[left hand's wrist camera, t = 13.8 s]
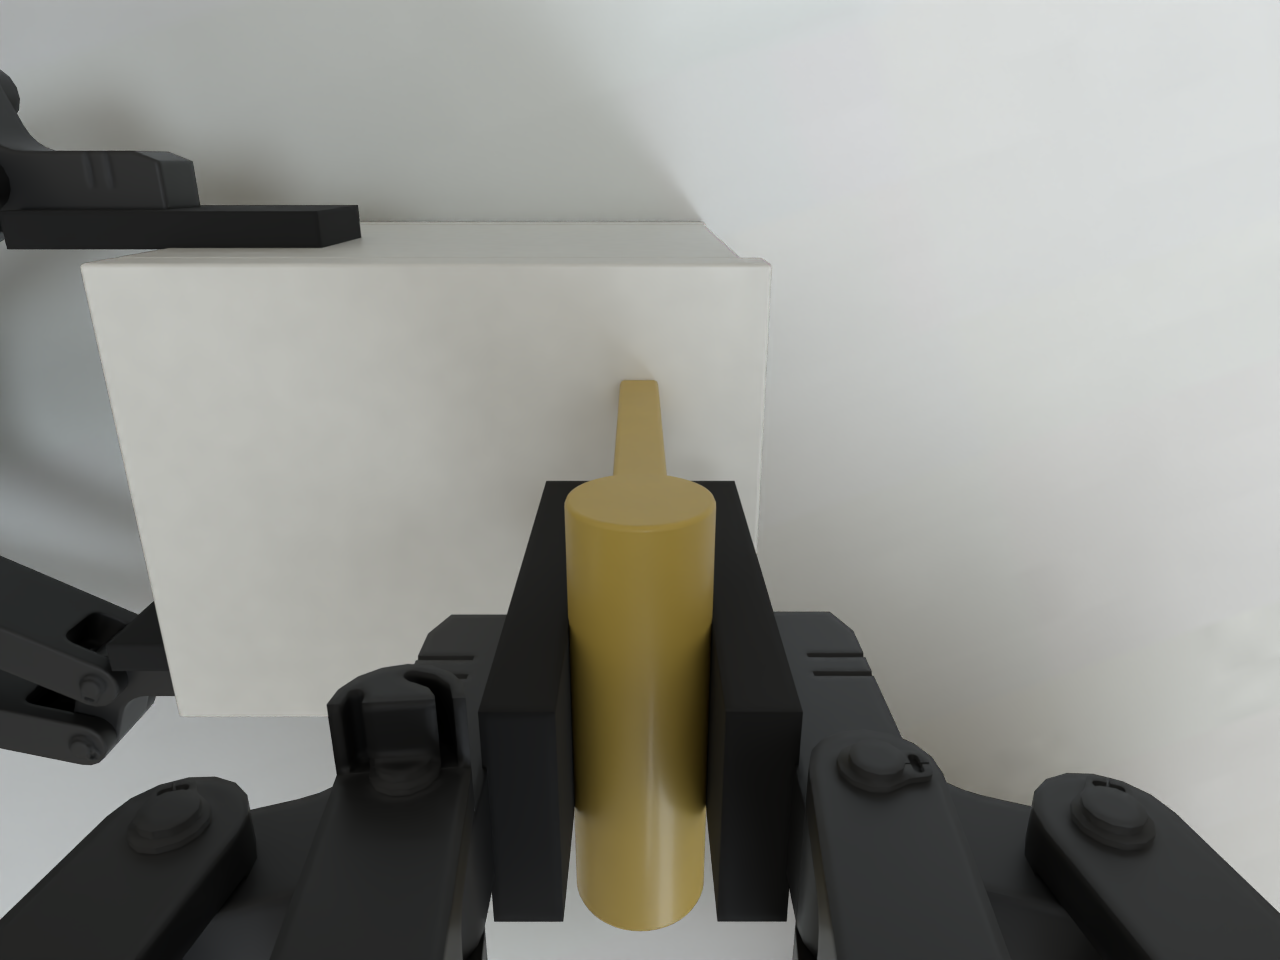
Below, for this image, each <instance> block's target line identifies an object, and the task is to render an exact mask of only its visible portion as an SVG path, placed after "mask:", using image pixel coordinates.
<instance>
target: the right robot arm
mask: <svg viewBox="0 0 1280 960" xmlns="http://www.w3.org/2000/svg"><path fill="white" fill-rule="evenodd" d="M19 103H20V98H19V94H18V91H17V87H16V86H15V84H14V83H13V81H12V80H11V78H10V77H9V76H8V75H6V74H5V73H4V72H3V71H1V70H0V242H1V241H2V240H4V239H5V242H6V246H7V249H167V248H324V247H328V246H331V245H335V244H339V243H343V242H347V241H350V240H354V239H358V238H361V229H360V220H359V211H358V205H200V202H199V196H198V190H197V184H196V178H195V172H194V166H193V161H190V160H188V159H185V158H183V157H180V156H178V155H175V154H173V153H170V152H156V151H54V150H52V149H49V148H46V147H45V146H43V145H42V144H40V143H38V142H37V141H36V140H35V139H34V138H33V137H32V136H31V135H30V134H29V133H28V131H27V130H26V128H25V127H24V125H23V123H22V122H21V120H20V118H19V116H18V115H17V112H18V110H19ZM156 696H175V693H174V688H173V684H172V679H171V675H170V670H169V666H168V661H167V657H166V652H165V648H164V643H163V639H162V634H161V630H160V625H159V621H158V616H157V612H156V607H155V603H154V602H152V603H151V604H150V605H149V606H148V607H147V608H146V609H145V610H143V611H142V612H141V613H140V614H139V615H138V614H136V613H133V612H131V611H129V610H126V609H124V608H122V607H119V606H117V605H115V604H112V603H110V602H107V601H105V600H103V599H100V598H98V597H96V596H93V595H91V594H89V593H86V592H84V591H82V590H79V589H77V588H75V587H72V586H70V585H68V584H65V583H63V582H61V581H58V580H56V579H54V578H51V577H49V576H47V575H44V574H42V573H40V572H37V571H35V570H33V569H30V568H28V567H26V566H23V565H21V564H18V563H16V562H14V561H11V560H9V559H7V558H4V557H2V556H0V748H2V749H7V750H12V751H17V752H22V753H27V754H32V755H37V756H42V757H47V758H52V759H57V760H62V761H67V762H72V763H77V764H82V765H93V764H96V763H99V762H100V761H101V760H102V759H104V758H105V757H106V755H107V754H108V753H109V752H110V751H111V750H112V749H113V748H114V747H115V745H116V744H117V743H118V742H119V741H120V740H121V739H122V738H123V737H124V735H125V734H126V733H127V732H128V731H129V730H130V729H131V728H132V727H133V725H134V724H135V723H136V722H137V721H138V720H139V719H140V718H141V717H142V716H143V714H144V713H145V712H146V711H147V710H148V709H149V708H150V707H151V706H152V704H153V703H154V701H155V698H156Z"/></svg>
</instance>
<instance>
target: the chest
mask: <svg viewBox="0 0 1280 960" xmlns="http://www.w3.org/2000/svg"><path fill="white" fill-rule="evenodd" d="M360 229H361V238H358V239H354V240H350V241H347V242H343V243H339V244H335V245H331V246H328V247H324V248H167V249H161V250H155V251H150V252H144V253H138V254H133V255H127V256H121V257H118V258H740V257H739V256H738V255H737V254H735V253H734V252H733V251H732V250H731V249H730V248H729V247H728V246H727V245H726V244H724V243H723V242H722V241H721V240H720V239H719V238H718V237H717V236H716V235H715V234H714V233H712V232H711V231H710V230H709V229H708V228H707V227H706V224H705V223H704V222H360Z"/></svg>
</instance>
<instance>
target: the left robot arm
mask: <svg viewBox="0 0 1280 960" xmlns="http://www.w3.org/2000/svg"><path fill="white" fill-rule="evenodd" d="M586 482H588V481H546V483H545V487H544V490H543V493H542V497H541V500H540V504H539V507H538V510H537V514H536V517H535V520H534V524H533V527H532V531H531V534H530V537H529V541H528V544H527V548H526V551H525V554H524V558H523V561H522V564H521V568H520V571H519V575H518V578H517V581H516V585H515V588H514V591H513V595H512V598H511V602H510V605H509V608H508V612H507V614H451V615H450V616H449V617H448V618H446V619H445V620H444V621H443V622H442V623H440V624H439V625H438V626H437V627H435V628H434V629H433V630H432V631H430V632H429V633H428V635H427V637H426V639H425V641H424V643H423V646H422V648H421V650H420V652H419V654H418V660H416V661H415V663H414V664H403V665H396V666H390V667H383V668H380V669H377V670H374V671H371V672H369V673H366V674H363V675H360V676H358V677H356V678H355V679H353V680H352V681H350V682H348V683H347V684H345V685H344V686H342V687H341V688H339V689H338V690H337V691H336V693H335V694H334V695H333V697H332V698H331V699H330V701H329V702H328V703H327V704H326V705H327V712H328V719H329V725H330V732H331V739H332V745H333V752H334V759H335V765H336V772H337V776H336V779H335V782H334V784H333V787H331V788H329V789H327V790H325V791H322V792H320V793H317V794H314V795H311V796H307V797H304V798H301V799H297V800H293V801H288V802H284V803H279V804H275V805H270V806H266V807H261V808H257V809H252V810H250V807H249V802H248V797H247V794H246V793H245V792H244V791H243V790H242V789H241V788H240V787H239V786H238V785H237V784H236V783H235V782H231V781H228V780H224V779H221V778H218V777H189V778H185V779H181V780H177V781H173V782H169V783H165V784H161V785H158V786H156V787H154V788H152V789H150V790H148V791H146V792H143V793H141V794H139V795H137V796H135V797H133V798H131V799H129V800H128V801H127V802H125V803H124V804H123V805H121V806H120V807H119V808H117V809H116V810H115V811H113V812H112V813H111V814H110V815H108V816H107V817H106V818H105V819H104V820H103V821H102V822H101V823H100V824H99V825H98V826H97V827H95V828H94V829H93V830H92V831H91V832H90V833H89V834H88V835H87V836H86V837H85V838H84V839H83V840H82V841H81V842H80V843H79V844H78V845H77V846H76V847H75V848H74V849H73V850H72V851H71V852H70V853H69V854H68V855H67V856H66V857H65V858H63V859H62V860H61V861H60V862H59V863H58V864H57V865H56V866H55V867H54V868H53V869H52V870H51V871H50V872H49V873H48V874H47V875H46V876H45V877H44V878H43V879H42V880H41V881H40V882H39V883H38V884H37V885H36V886H35V887H34V888H33V889H31V890H30V891H29V892H28V893H27V894H26V895H25V896H24V897H23V898H22V899H21V900H20V901H19V902H18V903H17V904H16V905H15V906H14V907H13V908H12V909H11V910H10V911H9V912H8V913H7V914H6V915H5V916H4V917H3V918H2V919H1V920H0V960H487V949H486V937H485V922H486V917H487V912H488V907H489V903H490V898H491V893H492V899H493V912H494V922H563V919H564V909H565V899H566V889H567V879H568V869H569V860H570V850H571V840H572V830H573V820H574V810H575V792H574V762H573V731H572V701H571V670H570V640H569V619H568V598H567V568H566V538H565V507H564V506H565V500H566V498H567V496H568V494H569V493H570V492H571V491H572V490H573V489H574V488H576V487H577V486H579V485H581V484H583V483H586ZM692 482H695V483H697V484H699V485H701V486H703V487H705V488H706V489H708V490H709V491H710V492H711V493H712V495H713V497H714V499H715V501H716V525H715V555H714V585H713V615H712V631H711V661H710V691H709V722H708V752H707V782H706V812H707V822H708V832H709V842H710V852H711V862H712V871H713V881H714V891H715V901H716V911H717V921H778V922H787V909H788V897H789V889H790V894H791V899H792V904H793V909H794V914H795V919H796V925H795V937H794V949H793V960H1280V913H1279V912H1278V911H1277V910H1276V909H1275V908H1274V907H1273V906H1272V905H1271V904H1270V903H1268V902H1267V901H1266V900H1265V899H1264V898H1263V897H1262V896H1261V895H1260V894H1259V893H1258V892H1257V891H1256V890H1255V889H1254V888H1253V887H1252V886H1251V885H1250V884H1249V883H1248V882H1247V881H1246V880H1245V879H1244V878H1242V877H1241V876H1240V875H1239V874H1238V873H1237V872H1236V871H1235V870H1234V869H1233V868H1232V867H1231V866H1230V865H1229V864H1228V863H1227V862H1226V861H1225V860H1224V859H1223V858H1222V857H1221V856H1220V855H1219V854H1217V853H1216V852H1215V851H1214V850H1213V849H1212V848H1211V847H1210V846H1209V845H1208V844H1207V843H1206V842H1205V841H1204V840H1203V839H1202V838H1201V837H1200V836H1199V835H1198V834H1197V833H1196V832H1195V831H1194V830H1193V829H1191V828H1190V827H1189V826H1188V825H1187V824H1186V823H1185V822H1184V821H1183V820H1182V819H1181V818H1180V817H1179V816H1178V815H1177V814H1176V813H1175V812H1173V811H1172V810H1171V809H1169V808H1168V807H1167V806H1165V805H1164V804H1163V803H1161V802H1160V801H1159V800H1157V799H1156V798H1155V797H1153V796H1152V795H1150V794H1148V793H1146V792H1144V791H1142V790H1140V789H1138V788H1136V787H1133V786H1131V785H1129V784H1127V783H1125V782H1123V781H1119V780H1115V779H1111V778H1107V777H1103V776H1099V775H1095V774H1079V773H1065V774H1062V775H1059V776H1055V777H1052V778H1048V779H1046V780H1045V781H1044V782H1043V783H1042V784H1041V785H1040V786H1039V787H1038V788H1037V789H1036V790H1035V791H1034V796H1033V801H1032V807H1031V806H1027V805H1022V804H1018V803H1013V802H1009V801H1004V800H1000V799H995V798H991V797H986V796H982V795H979V794H975V793H972V792H969V791H965V790H962V789H960V788H958V787H955V786H953V785H951V784H949V783H947V782H946V780H945V778H944V775H943V773H942V771H941V770H940V768H939V767H938V765H937V764H936V762H935V761H934V759H933V758H932V757H931V756H930V755H928V754H927V753H926V752H924V751H923V750H922V749H920V748H919V747H918V746H916V745H915V744H914V743H912V742H909V741H907V740H904V739H902V737H901V735H900V733H899V730H898V728H897V726H896V724H895V722H894V719H893V717H892V715H891V713H890V711H889V709H888V706H887V704H886V702H885V700H884V698H883V695H882V693H881V691H880V689H879V687H878V684H877V682H876V680H875V678H874V676H872V671H871V669H870V667H869V665H868V662H867V660H866V658H865V657H863V651H862V649H861V647H860V645H859V643H858V640H857V638H856V636H855V634H854V632H853V630H852V629H850V628H849V627H848V626H847V625H845V624H844V623H843V622H842V621H840V620H839V619H838V618H837V617H835V616H834V615H833V614H832V613H831V612H773V609H772V605H771V602H770V599H769V595H768V592H767V589H766V585H765V582H764V578H763V575H762V572H761V568H760V565H759V562H758V558H757V555H756V551H755V548H754V545H753V541H752V538H751V535H750V531H749V528H748V524H747V521H746V518H745V514H744V511H743V507H742V504H741V501H740V497H739V494H738V491H737V487H736V484H735V481H692Z"/></svg>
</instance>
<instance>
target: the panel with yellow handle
mask: <svg viewBox="0 0 1280 960" xmlns="http://www.w3.org/2000/svg"><path fill="white" fill-rule="evenodd" d="M80 269H81V274H82V278H83V283H84V287H85V292H86V296H87V301H88V305H89V310H90V314H91V319H92V323H93V328H94V332H95V337H96V341H97V346H98V350H99V355H100V359H101V364H102V368H103V373H104V377H105V382H106V386H107V391H108V395H109V400H110V404H111V409H112V414H113V418H114V423H115V427H116V432H117V436H118V441H119V445H120V450H121V454H122V459H123V463H124V468H125V472H126V477H127V481H128V486H129V490H130V495H131V499H132V504H133V508H134V513H135V517H136V522H137V526H138V531H139V535H140V540H141V544H142V549H143V553H144V558H145V562H146V567H147V571H148V576H149V580H150V585H151V589H152V594H153V598H154V603H155V607H156V612H157V616H158V621H159V625H160V630H161V634H162V639H163V643H164V648H165V652H166V657H167V661H168V666H169V670H170V675H171V679H172V684H173V688H174V693H175V698H176V702H177V707H178V711H179V715H180V716H182V717H328V712H327V705H326V704H327V703H328V702H329V701H330V699H331V698H332V697H333V695H334V694H335V693H336V691H337V690H338V689H339V688H341V687H342V686H344V685H345V684H347V683H348V682H350V681H352V680H353V679H355V678H356V677H358V676H360V675H363V674H366V673H369V672H371V671H374V670H377V669H380V668H383V667H390V666H396V665H403V664H414V663H415V661H416V660H418V654H419V652H420V650H421V648H422V646H423V643H424V641H425V639H426V637H427V635H428V633H429V632H430V631H432V630H433V629H434V628H435V627H437V626H438V625H439V624H440V623H442V622H443V621H444V620H445V619H446V618H448V617H449V616H450V615H451V614H507V612H508V608H509V605H510V602H511V598H512V595H513V591H514V588H515V585H516V581H517V578H518V575H519V571H520V568H521V564H522V561H523V558H524V554H525V551H526V548H527V544H528V541H529V537H530V534H531V531H532V527H533V524H534V520H535V517H536V514H537V510H538V507H539V504H540V500H541V497H542V493H543V490H544V487H545V483H546V481H588V482H586V483H583V484H581V485H579V486H577V487H576V488H574V489H573V490H572V491H571V492H570V493H569V494H568V496H567V498H566V500H565V506H564V507H565V538H566V568H567V598H568V619H569V640H570V670H571V701H572V731H573V762H574V792H575V840H576V870H577V887H578V891H579V894H580V897H581V898H582V900H583V902H584V904H585V905H586V906H587V908H588V909H589V910H590V911H591V912H592V913H593V914H594V915H595V916H596V917H597V918H599V919H600V920H602V921H604V922H605V923H607V924H609V925H612V926H614V927H617V928H621V929H625V930H631V931H650V930H656V929H660V928H663V927H666V926H669V925H671V924H674V923H675V922H677V921H679V920H680V919H682V918H683V917H684V916H686V915H687V914H688V913H689V912H690V911H691V910H692V908H693V907H694V906H695V904H696V903H697V901H698V899H699V897H700V895H701V892H702V889H703V883H704V855H705V825H706V782H707V752H708V722H709V691H710V661H711V631H712V615H713V585H714V555H715V525H716V501H715V499H714V497H713V495H712V493H711V492H710V491H709V490H708V489H706V488H705V487H703V486H701V485H699V484H697V483H695V482H692V481H735V484H736V487H737V491H738V494H739V497H740V501H741V504H742V507H743V511H744V514H745V518H746V521H747V524H748V528H749V531H750V535H751V538H752V541H753V545H754V548H755V551H756V555H757V542H758V523H759V504H760V485H761V466H762V447H763V428H764V408H765V389H766V370H767V351H768V332H769V313H770V294H771V274H772V267H771V264H770V263H768V262H767V261H766V260H764V259H762V258H110V259H104V260H99V261H93V262H87V263H84V264H82V265H81V267H80Z"/></svg>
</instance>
